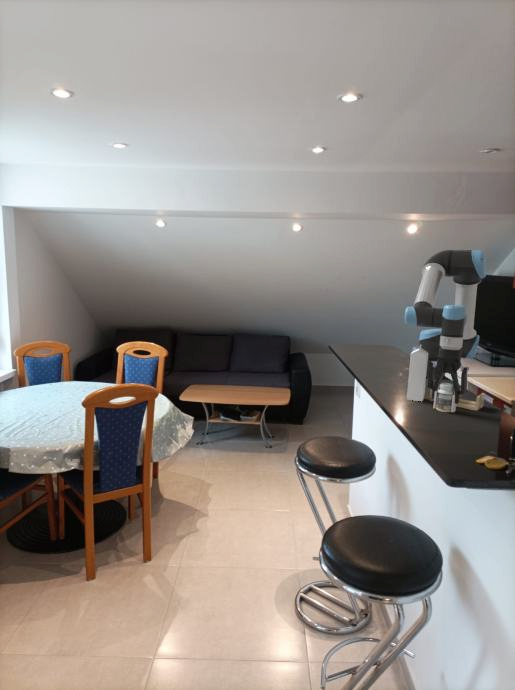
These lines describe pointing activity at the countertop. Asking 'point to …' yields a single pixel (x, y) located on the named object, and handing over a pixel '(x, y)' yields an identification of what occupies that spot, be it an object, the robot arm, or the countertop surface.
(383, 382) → the countertop surface
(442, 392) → the pill bottle
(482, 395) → the rack
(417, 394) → the milk
